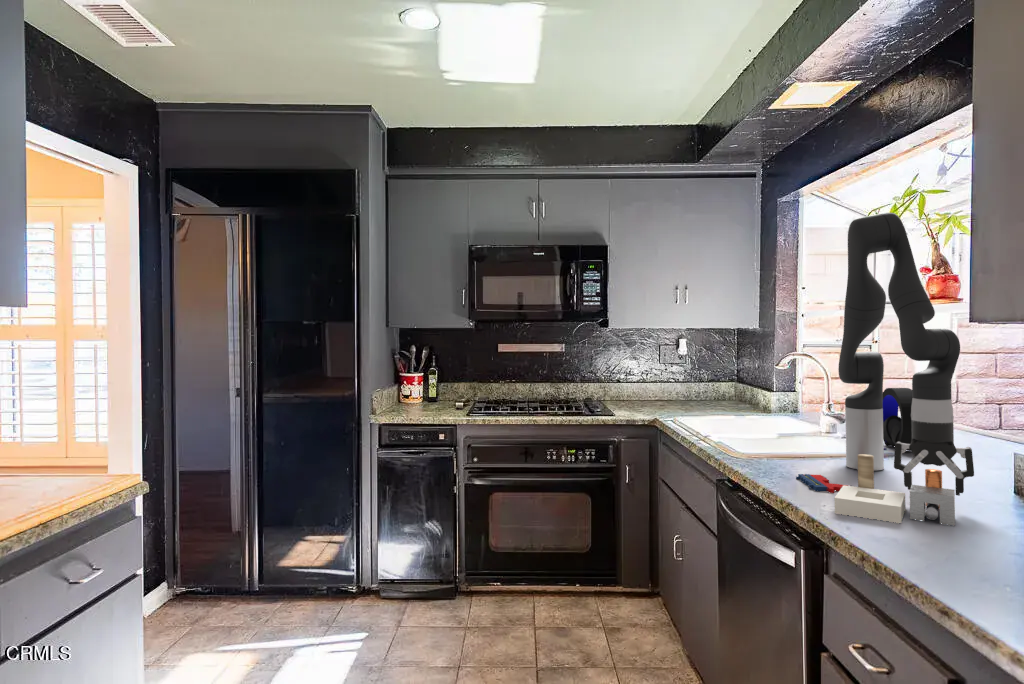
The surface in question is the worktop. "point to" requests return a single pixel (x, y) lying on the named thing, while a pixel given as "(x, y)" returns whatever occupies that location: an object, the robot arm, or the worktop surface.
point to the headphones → (892, 424)
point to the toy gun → (819, 483)
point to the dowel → (866, 471)
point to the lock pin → (932, 480)
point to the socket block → (870, 503)
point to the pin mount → (934, 496)
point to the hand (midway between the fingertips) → (933, 491)
